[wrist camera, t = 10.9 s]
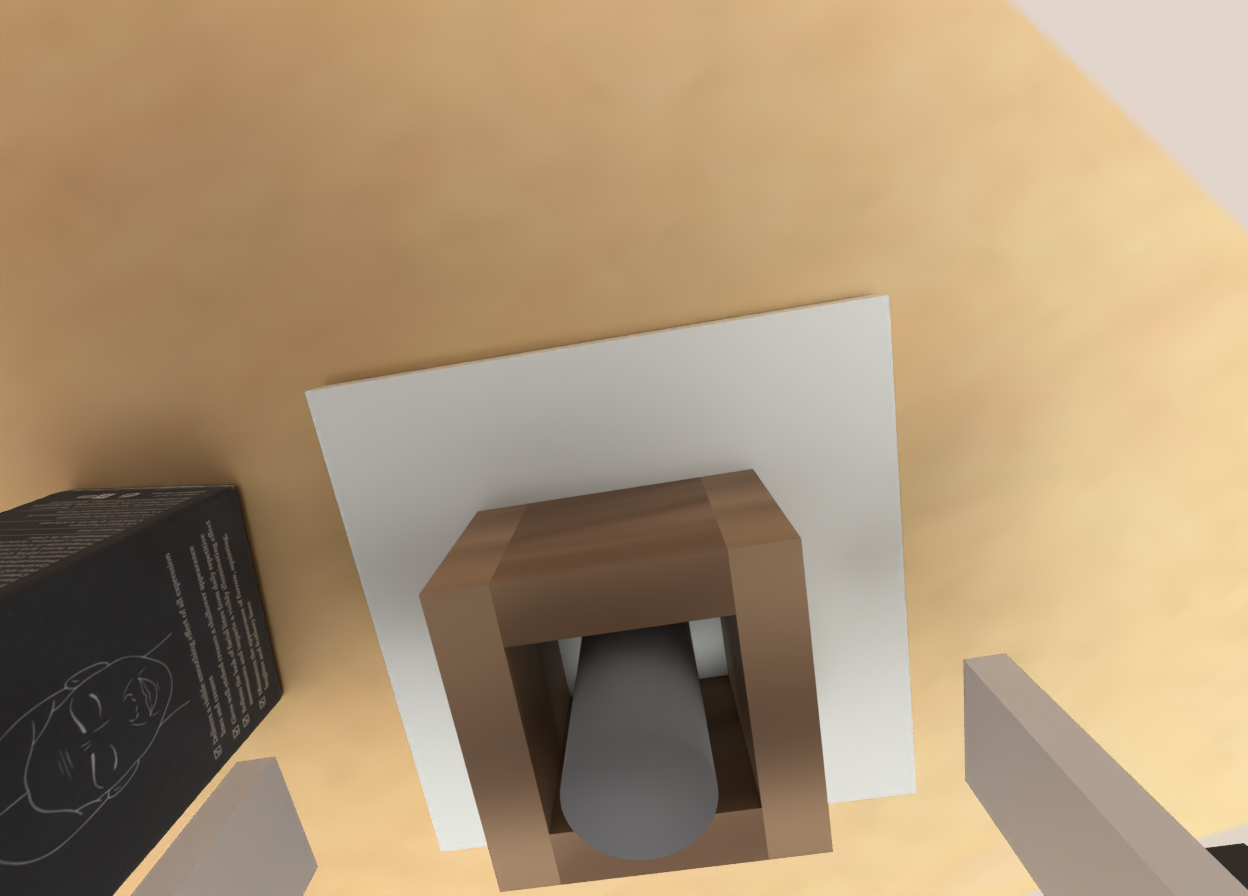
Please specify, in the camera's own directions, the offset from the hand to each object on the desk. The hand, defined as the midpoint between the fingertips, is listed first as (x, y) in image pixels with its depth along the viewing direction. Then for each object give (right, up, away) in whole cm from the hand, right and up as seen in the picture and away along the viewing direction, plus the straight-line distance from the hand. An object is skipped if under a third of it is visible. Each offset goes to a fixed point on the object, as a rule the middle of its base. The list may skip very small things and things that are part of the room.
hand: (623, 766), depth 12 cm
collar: (0, +1, +7) cm, 7 cm away
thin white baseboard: (0, +2, +8) cm, 8 cm away
